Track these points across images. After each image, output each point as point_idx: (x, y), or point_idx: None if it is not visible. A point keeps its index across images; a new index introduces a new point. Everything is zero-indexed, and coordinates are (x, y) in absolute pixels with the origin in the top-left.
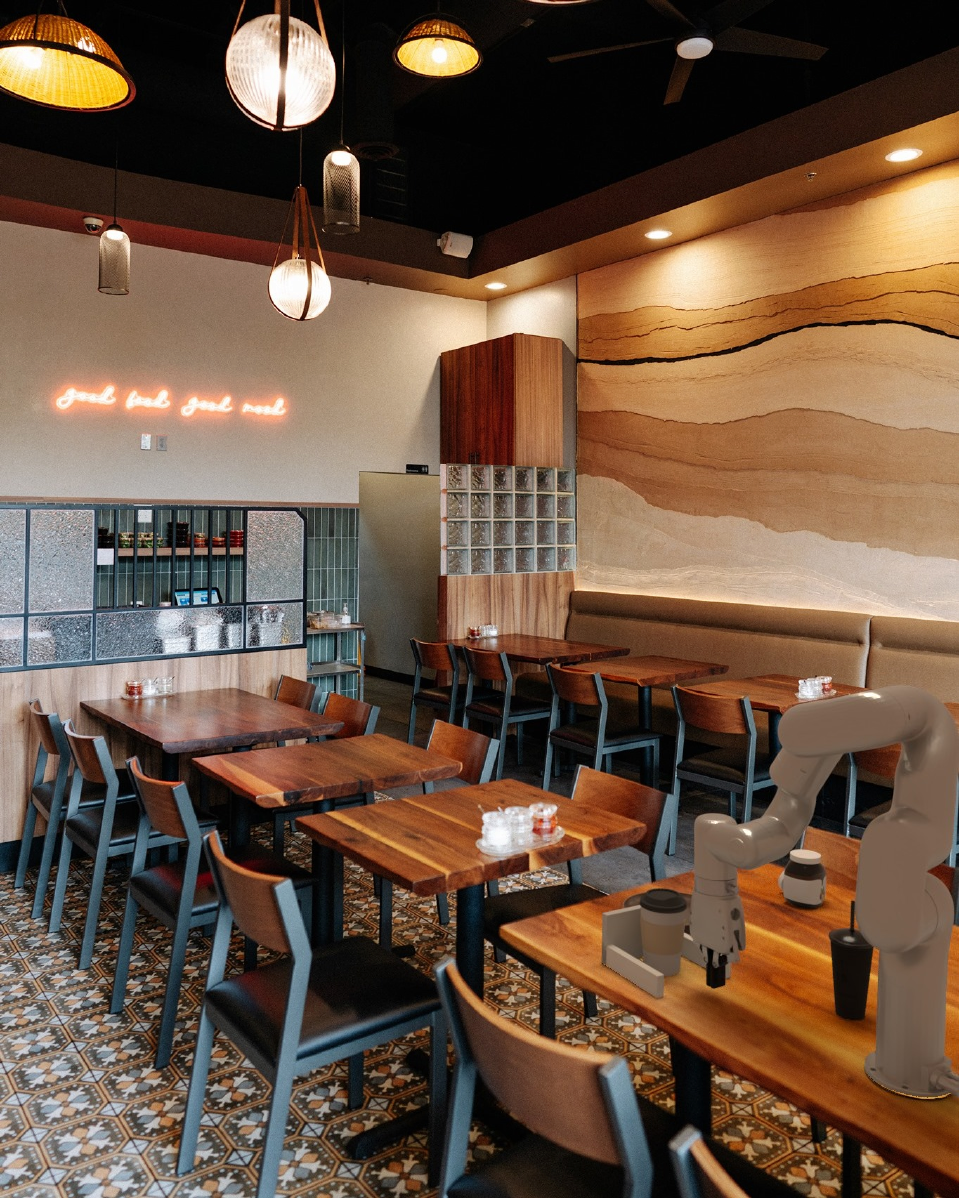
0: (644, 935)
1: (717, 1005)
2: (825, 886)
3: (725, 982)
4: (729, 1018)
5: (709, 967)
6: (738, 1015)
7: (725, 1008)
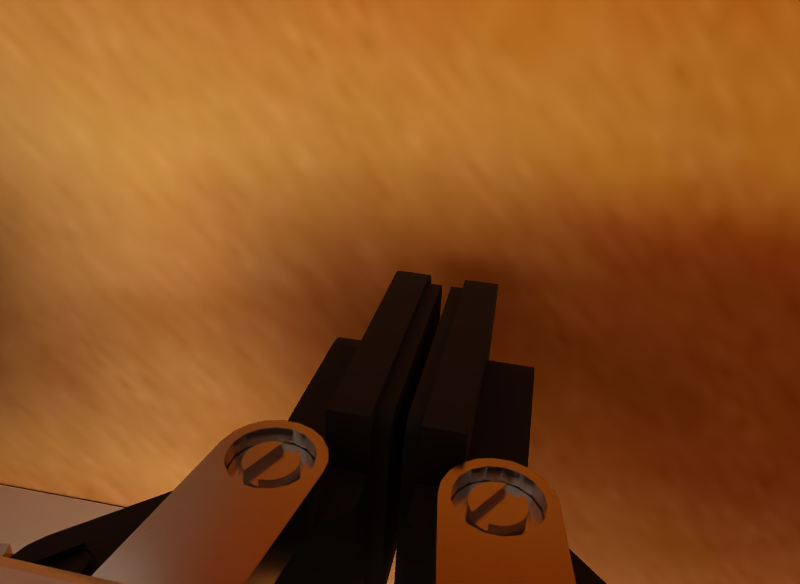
0: None
1: (546, 364)
2: None
3: (494, 288)
4: (756, 459)
5: (383, 581)
6: (785, 371)
7: (626, 356)
